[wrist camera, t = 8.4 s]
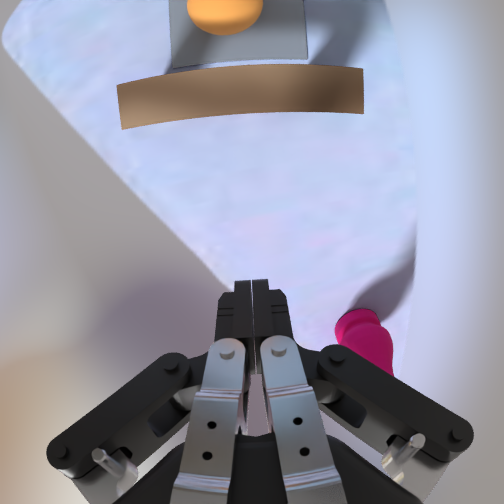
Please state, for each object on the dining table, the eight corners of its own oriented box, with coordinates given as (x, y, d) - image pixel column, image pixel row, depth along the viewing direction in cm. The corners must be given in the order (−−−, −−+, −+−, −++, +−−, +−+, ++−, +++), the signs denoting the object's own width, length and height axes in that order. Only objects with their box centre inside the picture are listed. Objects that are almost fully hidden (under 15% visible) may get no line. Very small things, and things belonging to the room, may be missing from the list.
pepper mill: (384, 302, 36) (446, 431, 19) (374, 339, 40) (418, 458, 23) (333, 308, 36) (379, 453, 19) (328, 346, 40) (359, 475, 23)
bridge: (158, 86, 23) (116, 85, 15) (323, 75, 23) (362, 68, 15) (161, 116, 25) (121, 129, 16) (324, 105, 24) (363, 114, 16)
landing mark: (168, -37, 16) (168, -37, 16) (297, -46, 16) (297, -46, 16) (173, 68, 22) (172, 68, 22) (306, 59, 22) (307, 59, 22)
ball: (191, -8, 18) (180, -34, 13) (257, -14, 18) (262, -42, 13) (194, 45, 21) (182, 29, 16) (262, 40, 21) (269, 21, 16)
